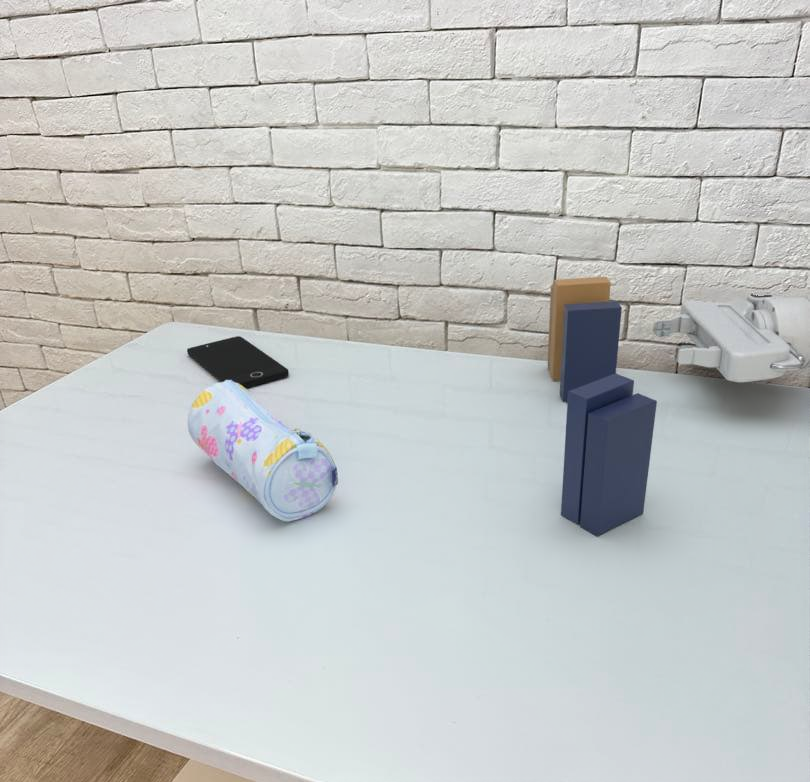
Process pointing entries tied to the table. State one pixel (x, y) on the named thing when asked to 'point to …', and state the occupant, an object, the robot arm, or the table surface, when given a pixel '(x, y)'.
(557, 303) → the tan rectangular block
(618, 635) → the table surface
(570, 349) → the navy book
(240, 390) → the pencil case
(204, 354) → the cell phone
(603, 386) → the navy books
